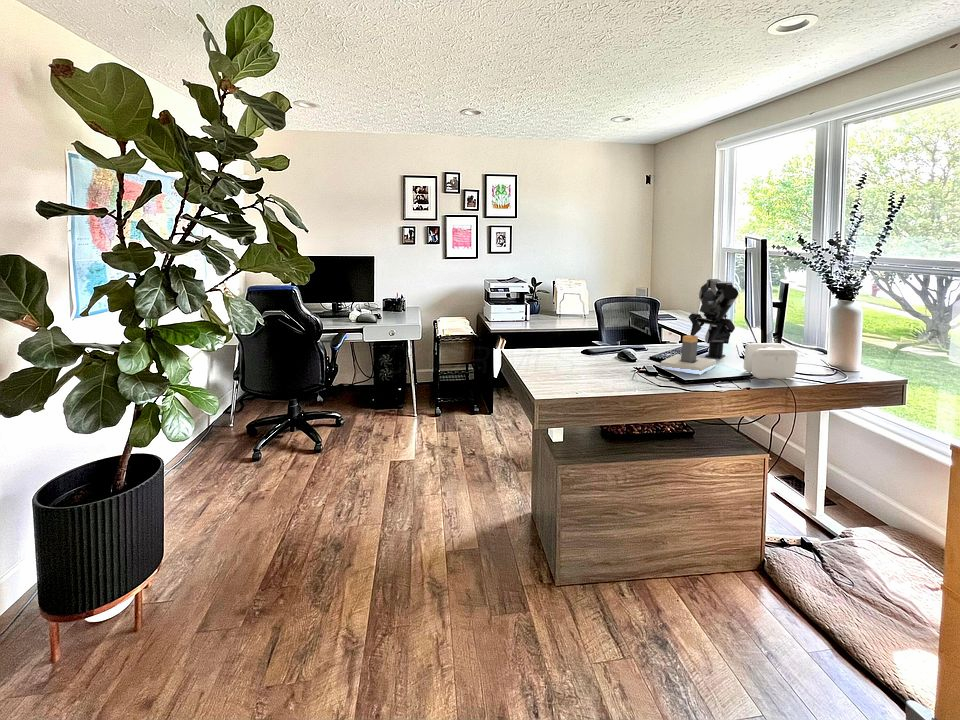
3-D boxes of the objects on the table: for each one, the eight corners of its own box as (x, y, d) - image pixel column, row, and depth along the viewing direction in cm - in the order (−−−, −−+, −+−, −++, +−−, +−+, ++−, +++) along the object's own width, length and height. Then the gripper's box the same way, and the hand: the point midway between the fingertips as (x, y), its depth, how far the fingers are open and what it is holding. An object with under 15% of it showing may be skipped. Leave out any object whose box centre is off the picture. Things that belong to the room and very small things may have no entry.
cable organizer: (782, 372, 217) (786, 343, 214) (795, 380, 207) (799, 349, 204) (742, 372, 218) (745, 343, 215) (752, 379, 208) (756, 349, 205)
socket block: (676, 360, 236) (677, 354, 236) (715, 366, 226) (715, 359, 225) (660, 368, 225) (660, 361, 224) (700, 375, 214) (701, 368, 214)
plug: (687, 366, 228) (689, 334, 225) (695, 368, 225) (697, 336, 222) (680, 367, 226) (682, 336, 223) (688, 369, 223) (691, 337, 220)
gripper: (693, 293, 232) (673, 323, 230) (733, 299, 217) (711, 330, 214) (704, 310, 238) (684, 339, 236) (743, 316, 223) (723, 347, 220)
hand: (700, 338), depth 226 cm, fingers open, 9 cm apart
